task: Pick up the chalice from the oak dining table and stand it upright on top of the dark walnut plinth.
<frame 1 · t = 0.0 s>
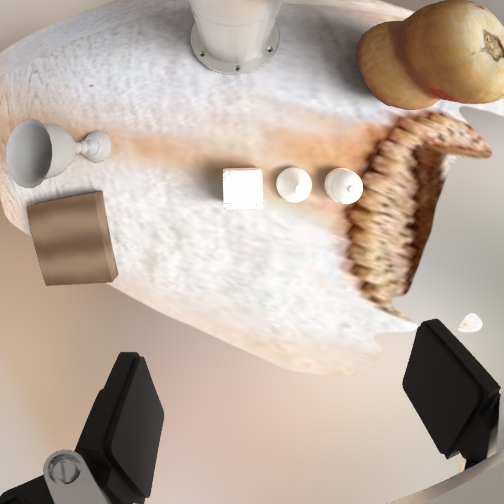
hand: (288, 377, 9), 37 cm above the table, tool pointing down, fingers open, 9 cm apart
container set: (292, 183, 44), on the table
chalice: (97, 146, 40), on the table
butternut squash: (384, 72, 38), on the table
walnut plinth: (74, 238, 44), on the table
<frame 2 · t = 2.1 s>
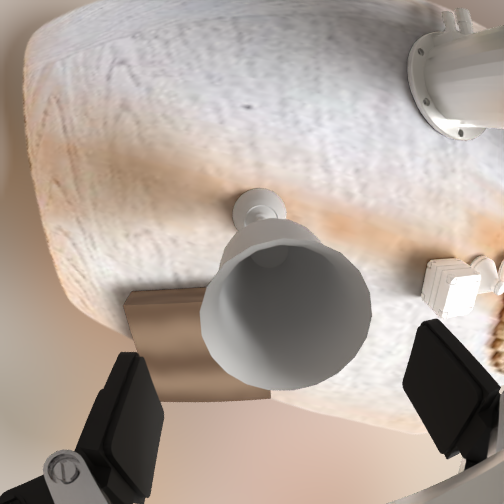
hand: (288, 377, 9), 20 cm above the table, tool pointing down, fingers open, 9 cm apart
container set: (476, 271, 32), on the table
chalice: (259, 214, 29), on the table
walnut plinth: (204, 342, 33), on the table
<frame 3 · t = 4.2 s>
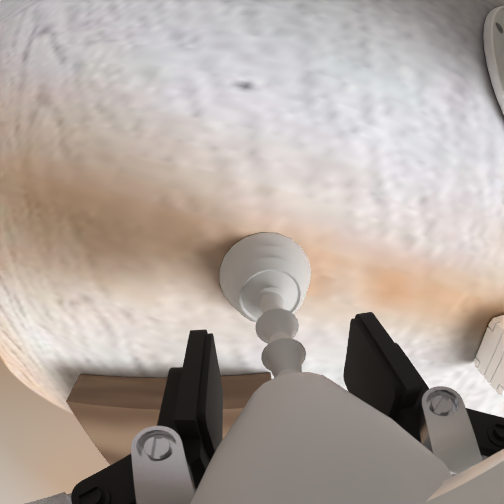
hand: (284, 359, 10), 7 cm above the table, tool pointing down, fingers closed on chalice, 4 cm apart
chalice: (265, 276, 17), on the table, touching gripper
walnut plinth: (187, 435, 21), on the table
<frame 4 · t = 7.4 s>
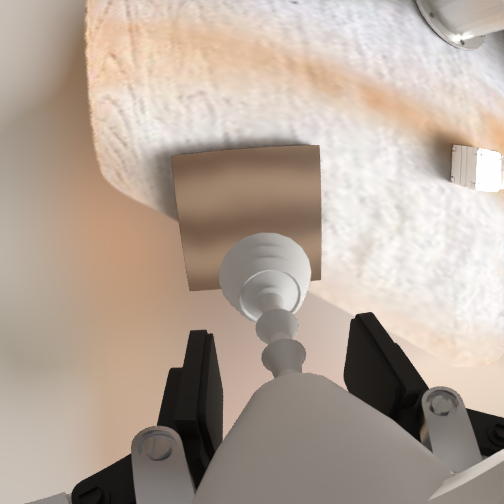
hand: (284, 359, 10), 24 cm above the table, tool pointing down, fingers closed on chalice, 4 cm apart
container set: (494, 170, 32), on the table
chalice: (265, 276, 17), point 16 cm above the table, touching gripper
walnut plinth: (249, 214, 32), on the table
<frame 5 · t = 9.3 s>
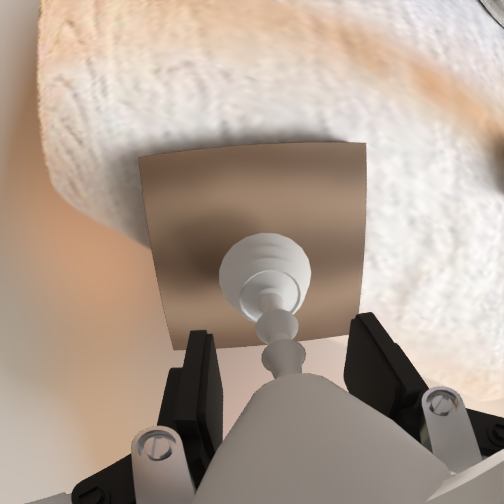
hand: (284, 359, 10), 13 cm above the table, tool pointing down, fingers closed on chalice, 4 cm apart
chalice: (265, 276, 17), point 6 cm above the table, touching gripper
walnut plinth: (258, 241, 22), on the table
when the fingers open (11 cm above the table, at t = 10.5 s): chalice drops 1 cm, resting on walnut plinth.
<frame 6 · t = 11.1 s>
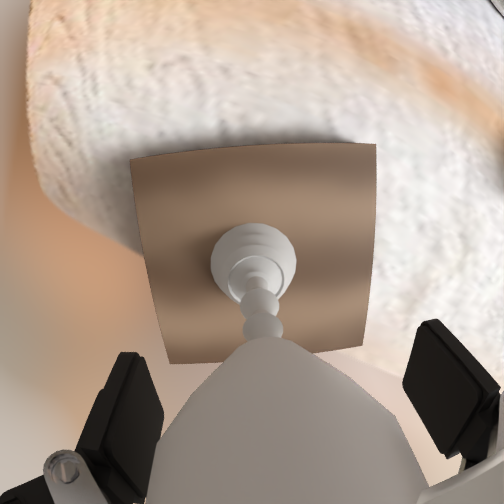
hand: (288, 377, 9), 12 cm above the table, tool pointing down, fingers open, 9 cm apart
chalice: (253, 263, 18), point 3 cm above the table, touching walnut plinth
walnut plinth: (259, 249, 21), on the table
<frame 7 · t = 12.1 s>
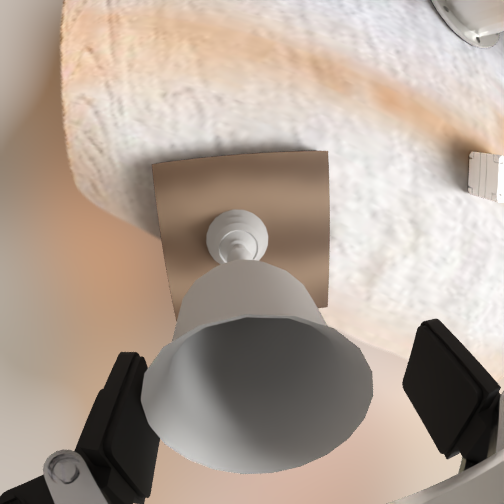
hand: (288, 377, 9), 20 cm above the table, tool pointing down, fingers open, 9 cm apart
chalice: (237, 239, 25), point 3 cm above the table, touching walnut plinth
walnut plinth: (245, 231, 28), on the table
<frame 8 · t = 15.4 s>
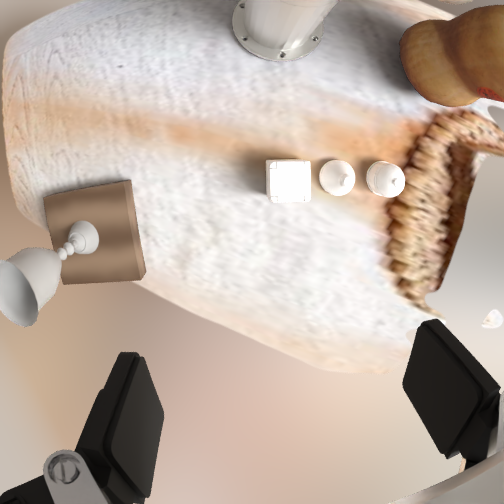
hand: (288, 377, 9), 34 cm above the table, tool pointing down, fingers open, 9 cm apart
container set: (335, 176, 42), on the table
chalice: (84, 237, 39), point 3 cm above the table, touching walnut plinth
butternut squash: (421, 69, 36), on the table
walnut plinth: (96, 232, 42), on the table
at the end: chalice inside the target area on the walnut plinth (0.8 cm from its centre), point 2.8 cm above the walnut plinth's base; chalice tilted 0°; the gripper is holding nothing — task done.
